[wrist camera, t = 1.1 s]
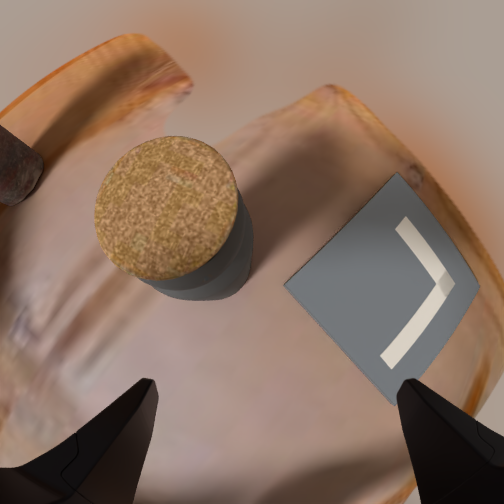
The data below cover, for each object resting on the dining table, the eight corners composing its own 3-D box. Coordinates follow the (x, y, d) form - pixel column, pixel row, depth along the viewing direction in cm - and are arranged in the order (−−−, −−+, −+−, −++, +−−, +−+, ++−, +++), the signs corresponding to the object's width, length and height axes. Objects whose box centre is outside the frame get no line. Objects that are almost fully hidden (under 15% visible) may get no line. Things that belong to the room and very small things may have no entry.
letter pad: (475, 287, 23) (480, 286, 22) (390, 403, 20) (395, 406, 20) (393, 175, 24) (397, 171, 24) (283, 285, 22) (284, 284, 21)
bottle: (166, 265, 22) (55, 211, 8) (214, 216, 23) (172, 96, 8) (215, 315, 22) (157, 343, 7) (265, 263, 23) (300, 196, 8)
